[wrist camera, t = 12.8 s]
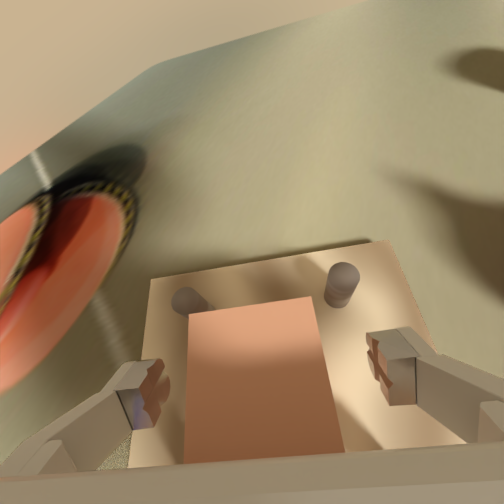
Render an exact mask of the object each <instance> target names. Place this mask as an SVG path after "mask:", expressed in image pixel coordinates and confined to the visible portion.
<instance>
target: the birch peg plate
mask: <svg viewBox="0 0 504 504" xmlns="http://www.w3.org/2000/svg"><path fill="white" fill-rule="evenodd" d="M309 296H311V298H312V302H313V307H314V311H315V316H316V321H317V325H318V330H319V334H320V339H321V343H322V348H323V353H324V357H325V362H326V366H327V371H328V375H329V380H330V385H331V389H332V394H333V398H334V403H335V407H336V412H337V416H338V421H339V426H340V430H341V435H342V439H343V444H344V448H345V452H359V451H373V450H386V449H400V448H413V447H426V446H440V445H454V444H468V443H466V442H465V441H464V440H462V439H461V438H460V437H458V436H457V435H456V434H454V433H453V432H452V431H450V430H449V429H448V428H446V427H445V426H444V425H442V424H441V423H440V422H438V421H437V420H436V419H434V418H433V417H432V416H430V415H429V414H428V413H426V412H425V411H424V410H422V409H421V408H419V407H418V406H417V404H416V405H400V406H389V404H388V402H387V401H386V399H385V397H384V395H383V393H382V391H381V390H380V382H378V381H377V380H375V378H374V376H373V374H372V372H371V370H370V367H369V363H368V358H367V351H368V350H369V346H368V345H367V343H366V332H373V331H381V330H388V329H394V328H399V327H406V326H409V327H411V328H412V329H413V330H414V331H415V332H416V333H417V334H418V335H419V336H420V337H421V338H422V339H423V340H424V341H425V342H426V343H427V344H428V345H429V346H430V347H431V348H432V349H433V350H434V351H435V352H436V353H437V354H438V352H437V350H436V348H435V345H434V343H433V341H432V338H431V336H430V334H429V331H428V329H427V327H426V324H425V322H424V320H423V317H422V315H421V313H420V310H419V308H418V306H417V304H416V301H415V299H414V297H413V294H412V292H411V290H410V287H409V285H408V283H407V280H406V278H405V276H404V273H403V271H402V269H401V267H400V264H399V262H398V260H397V257H396V255H395V253H394V250H393V248H392V246H391V243H390V241H389V240H383V241H377V242H371V243H365V244H359V245H353V246H347V247H341V248H335V249H329V250H323V251H317V252H311V253H305V254H299V255H293V256H287V257H281V258H275V259H269V260H263V261H257V262H251V263H245V264H239V265H233V266H227V267H221V268H215V269H209V270H203V271H197V272H191V273H185V274H179V275H173V276H167V277H161V278H155V279H151V283H150V291H149V299H148V307H147V315H146V323H145V332H144V340H143V348H142V356H141V360H147V359H157V358H160V359H162V360H163V362H164V365H165V368H164V370H163V372H165V373H166V374H167V375H168V376H169V379H170V386H171V387H170V393H169V396H168V399H167V401H166V402H165V403H164V404H163V405H162V406H160V407H161V411H162V412H161V414H160V416H159V418H158V420H157V422H156V425H155V427H154V428H147V429H139V430H132V438H131V446H130V454H129V462H128V468H137V467H150V466H164V465H178V464H183V463H184V435H185V408H186V380H187V352H188V325H189V314H194V313H200V312H207V311H214V310H221V309H228V308H235V307H241V306H248V305H255V304H262V303H269V302H275V301H282V300H289V299H296V298H303V297H309ZM438 355H439V354H438Z"/></svg>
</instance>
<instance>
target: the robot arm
mask: <svg viewBox="0 0 504 504" xmlns="http://www.w3.org/2000/svg"><path fill="white" fill-rule="evenodd" d="M366 343H367V345H368V346H369V350H368V351H367V358H368V363H369V367H370V370H371V372H372V374H373V376H374V378H375V380H377V381H378V382H380V390H381V391H382V393H383V395H384V397H385V399H386V401H387V402H388V404H389V406H400V405H416V404H417V406H418V407H419V408H421V409H422V410H424V411H425V412H426V413H428V414H429V415H430V416H432V417H433V418H434V419H436V420H437V421H438V422H440V423H441V424H442V425H444V426H445V427H446V428H448V429H449V430H450V431H452V432H453V433H454V434H456V435H457V436H458V437H460V438H461V439H462V440H464V441H465V442H466V443H468V444H454V445H440V446H426V447H413V448H400V449H386V450H373V451H359V452H345V453H330V454H316V455H302V456H288V457H274V458H260V459H246V460H233V461H219V462H205V463H192V464H178V465H164V466H150V467H137V468H123V469H109V470H96V469H97V468H98V467H99V466H100V465H101V464H102V463H103V462H104V461H105V460H106V459H107V458H108V457H109V456H110V455H111V454H112V453H113V452H114V450H115V449H116V448H117V447H118V446H119V445H120V444H121V443H122V442H123V441H124V440H125V439H126V438H127V437H128V436H129V435H130V434H131V433H132V430H139V429H147V428H154V427H155V425H156V422H157V420H158V418H159V416H160V414H161V412H162V411H161V407H160V406H162V405H163V404H164V403H165V402H166V401H167V399H168V396H169V393H170V387H171V386H170V379H169V376H168V375H167V374H166V373H165V372H163V370H164V368H165V365H164V362H163V360H162V359H160V358H157V359H147V360H138V361H129V362H125V363H123V364H122V365H121V366H120V368H119V369H118V370H117V371H116V373H115V374H114V375H113V376H112V378H111V379H110V380H109V381H108V383H107V384H106V385H105V386H104V388H103V389H102V390H101V391H100V392H99V393H95V394H94V395H92V396H91V397H89V398H88V399H86V400H85V401H83V402H82V403H80V404H79V405H77V406H76V407H74V408H73V409H71V410H70V411H68V412H67V413H65V414H64V415H62V416H61V417H59V418H58V419H56V420H55V421H53V422H52V423H50V424H49V425H47V426H46V427H44V428H43V429H41V430H40V431H38V432H36V433H35V434H33V435H32V436H30V437H29V438H27V439H26V440H24V441H23V442H22V443H21V444H20V445H19V446H18V447H17V448H16V449H15V450H14V451H13V452H12V453H11V454H10V456H9V457H8V458H7V459H6V460H5V461H4V462H3V463H2V464H1V465H0V504H504V379H502V378H499V377H497V376H494V375H492V374H490V373H487V372H485V371H482V370H480V369H477V368H475V367H473V366H470V365H468V364H465V363H463V362H460V361H458V360H456V359H453V358H451V357H448V356H446V355H443V354H442V355H438V354H437V353H436V352H435V351H434V350H433V349H432V348H431V347H430V346H429V345H428V344H427V343H426V342H425V341H424V340H423V339H422V338H421V337H420V336H419V335H418V334H417V333H416V332H415V331H414V330H413V329H412V328H411V327H409V326H406V327H399V328H394V329H388V330H381V331H373V332H366Z"/></svg>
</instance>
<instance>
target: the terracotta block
mask: <svg viewBox="0 0 504 504" xmlns="http://www.w3.org/2000/svg"><path fill="white" fill-rule="evenodd" d="M330 453H345V448H344V444H343V439H342V435H341V430H340V426H339V421H338V416H337V412H336V407H335V403H334V398H333V394H332V389H331V385H330V380H329V375H328V371H327V366H326V362H325V357H324V353H323V348H322V343H321V339H320V334H319V330H318V325H317V321H316V316H315V311H314V307H313V302H312V298H311V296H309V297H303V298H296V299H289V300H282V301H275V302H269V303H262V304H255V305H248V306H241V307H235V308H228V309H221V310H214V311H207V312H200V313H194V314H189V325H188V352H187V380H186V408H185V435H184V463H183V464H192V463H205V462H219V461H233V460H246V459H260V458H274V457H288V456H302V455H316V454H330Z"/></svg>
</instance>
